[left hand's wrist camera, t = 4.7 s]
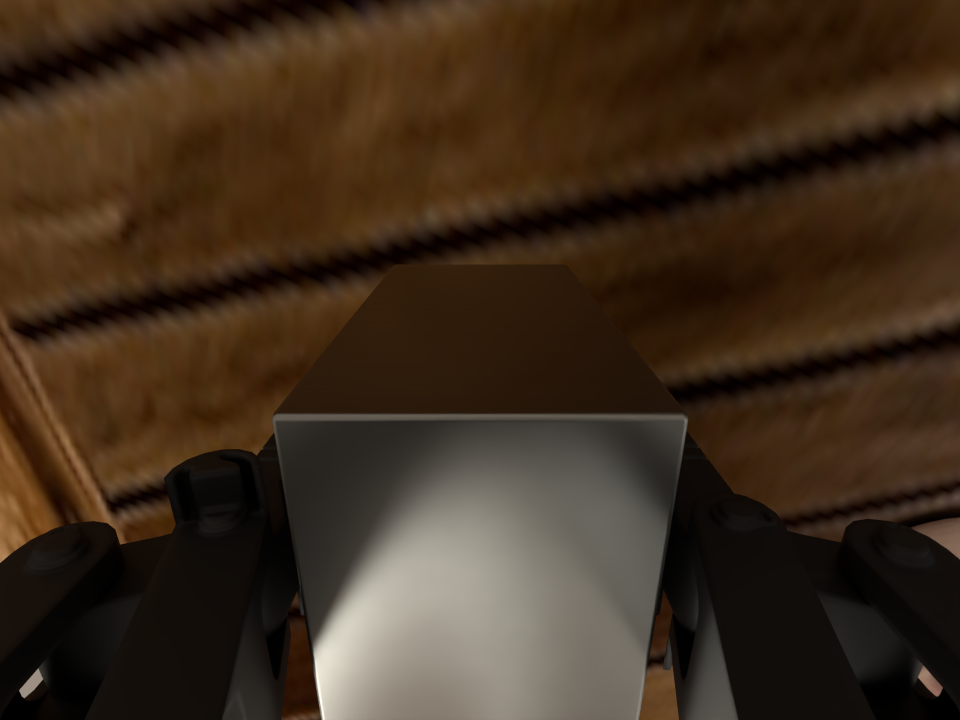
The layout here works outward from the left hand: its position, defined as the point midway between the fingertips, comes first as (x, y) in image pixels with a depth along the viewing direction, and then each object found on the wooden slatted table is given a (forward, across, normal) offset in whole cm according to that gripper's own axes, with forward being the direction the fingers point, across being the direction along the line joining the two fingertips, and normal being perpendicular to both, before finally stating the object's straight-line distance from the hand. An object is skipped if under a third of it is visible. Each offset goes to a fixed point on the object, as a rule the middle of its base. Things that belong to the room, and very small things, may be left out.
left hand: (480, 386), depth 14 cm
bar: (+1, 0, -9) cm, 9 cm away
